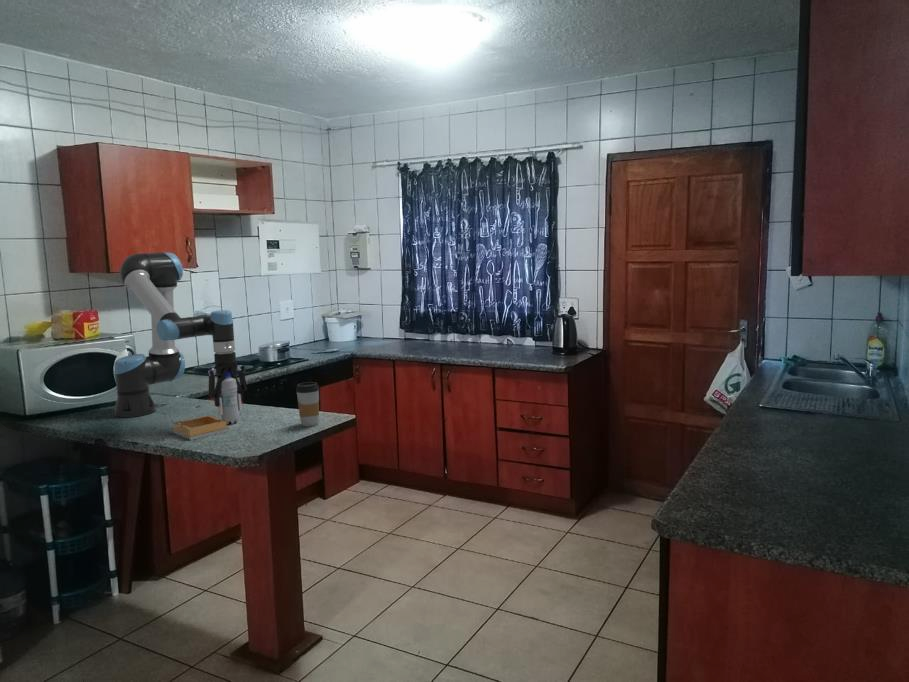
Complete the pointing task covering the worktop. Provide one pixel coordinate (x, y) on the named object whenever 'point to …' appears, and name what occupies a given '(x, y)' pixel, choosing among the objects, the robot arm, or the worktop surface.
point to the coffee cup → (308, 403)
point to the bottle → (229, 399)
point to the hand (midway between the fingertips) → (230, 412)
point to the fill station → (200, 427)
